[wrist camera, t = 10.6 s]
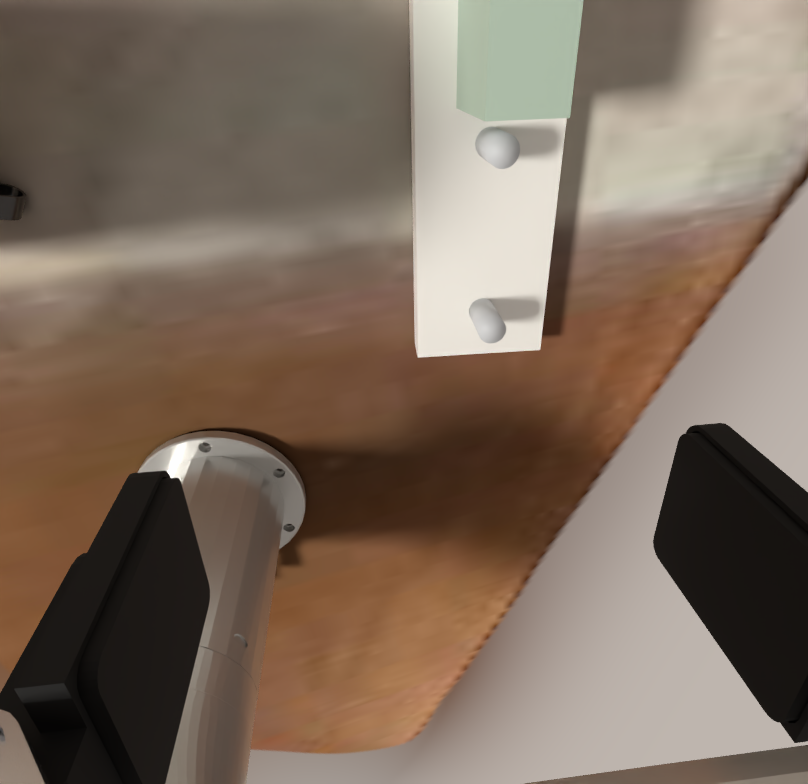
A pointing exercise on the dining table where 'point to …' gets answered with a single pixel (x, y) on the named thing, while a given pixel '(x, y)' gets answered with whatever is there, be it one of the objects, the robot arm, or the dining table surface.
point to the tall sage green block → (517, 58)
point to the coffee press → (11, 202)
